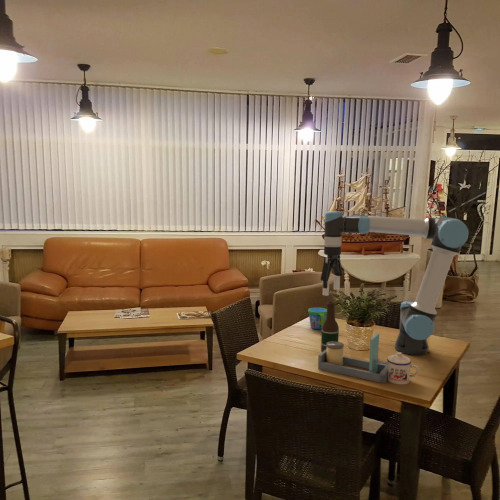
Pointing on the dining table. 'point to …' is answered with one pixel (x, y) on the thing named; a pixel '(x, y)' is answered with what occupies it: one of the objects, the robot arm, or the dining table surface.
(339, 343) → the jar
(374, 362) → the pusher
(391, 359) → the teacup with lid
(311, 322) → the snack cup
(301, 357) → the dining table surface
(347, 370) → the tray
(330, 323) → the beer bottle
